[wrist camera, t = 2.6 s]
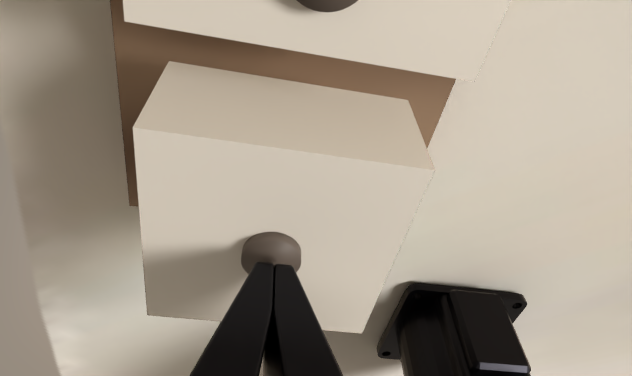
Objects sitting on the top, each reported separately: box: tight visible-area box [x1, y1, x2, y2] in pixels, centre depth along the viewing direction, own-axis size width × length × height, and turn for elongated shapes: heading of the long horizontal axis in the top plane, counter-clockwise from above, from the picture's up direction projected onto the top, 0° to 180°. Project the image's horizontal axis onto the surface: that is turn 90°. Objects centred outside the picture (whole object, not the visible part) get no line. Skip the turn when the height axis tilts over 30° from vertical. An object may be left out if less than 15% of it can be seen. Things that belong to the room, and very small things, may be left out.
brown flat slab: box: [110, 0, 456, 207], centre depth 13 cm, size 16×10×2 cm, turn 169°
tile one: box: [133, 61, 435, 333], centre depth 12 cm, size 6×6×3 cm
